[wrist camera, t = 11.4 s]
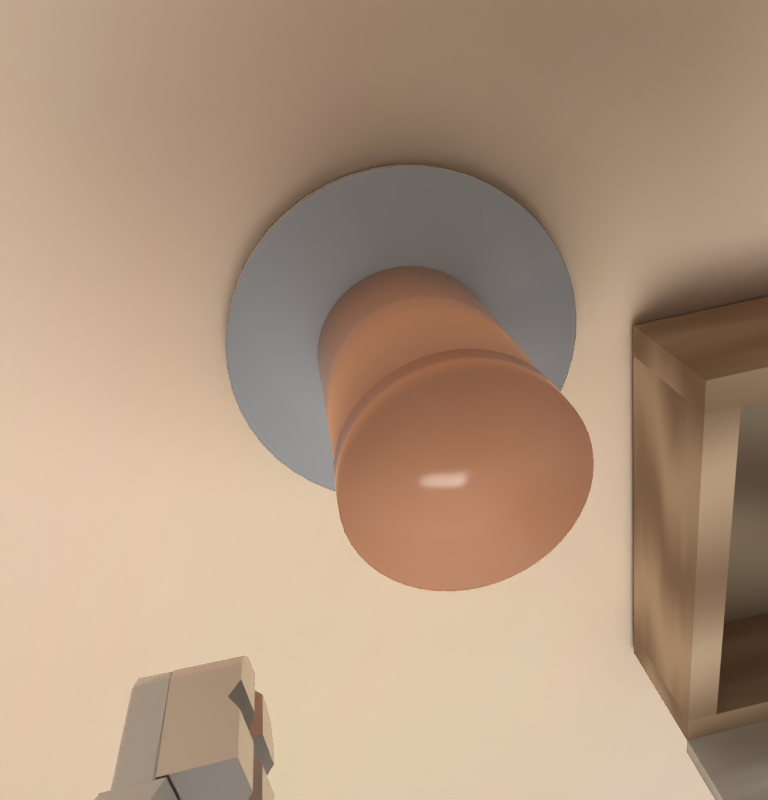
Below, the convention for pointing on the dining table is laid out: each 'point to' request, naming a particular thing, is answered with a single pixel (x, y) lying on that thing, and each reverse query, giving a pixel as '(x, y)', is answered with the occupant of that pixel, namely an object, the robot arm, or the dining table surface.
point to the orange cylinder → (445, 435)
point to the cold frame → (705, 534)
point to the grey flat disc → (370, 253)
